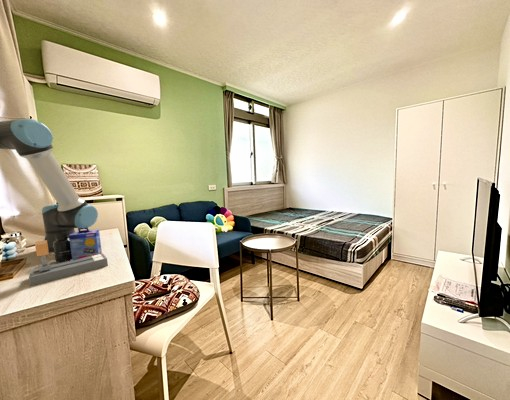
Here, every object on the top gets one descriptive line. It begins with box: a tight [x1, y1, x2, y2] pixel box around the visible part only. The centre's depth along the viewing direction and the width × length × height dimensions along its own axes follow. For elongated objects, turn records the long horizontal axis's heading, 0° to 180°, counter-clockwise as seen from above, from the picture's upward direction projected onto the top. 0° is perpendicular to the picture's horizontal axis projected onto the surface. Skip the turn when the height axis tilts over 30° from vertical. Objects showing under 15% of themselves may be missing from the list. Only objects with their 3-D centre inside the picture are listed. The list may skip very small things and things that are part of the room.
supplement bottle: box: [53, 232, 72, 263], centre depth 96 cm, size 7×7×12 cm
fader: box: [34, 239, 52, 272], centre depth 78 cm, size 3×6×10 cm, turn 44°
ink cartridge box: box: [69, 227, 103, 261], centre depth 96 cm, size 10×6×14 cm, turn 113°
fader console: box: [28, 252, 109, 287], centre depth 83 cm, size 22×9×3 cm, turn 134°
